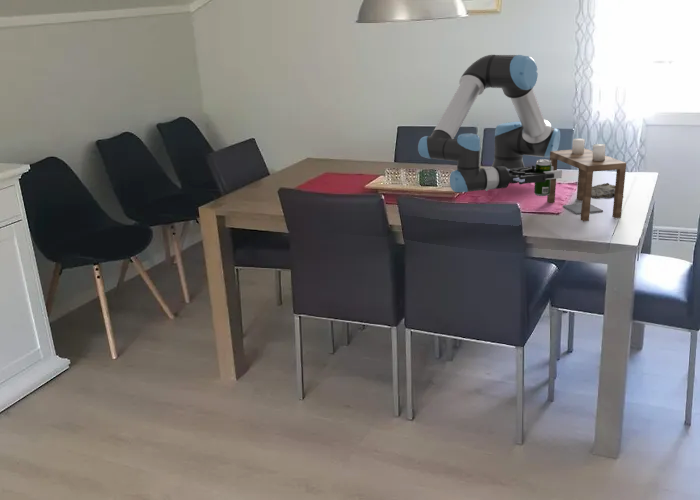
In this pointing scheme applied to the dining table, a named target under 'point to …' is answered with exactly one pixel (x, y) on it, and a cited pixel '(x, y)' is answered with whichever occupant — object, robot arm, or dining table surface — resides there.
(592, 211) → the felt pad
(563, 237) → the dining table surface
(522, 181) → the robot arm
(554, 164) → the walnut stand
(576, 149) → the white short cylinder
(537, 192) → the beer can
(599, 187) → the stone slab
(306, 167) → the dining table surface
